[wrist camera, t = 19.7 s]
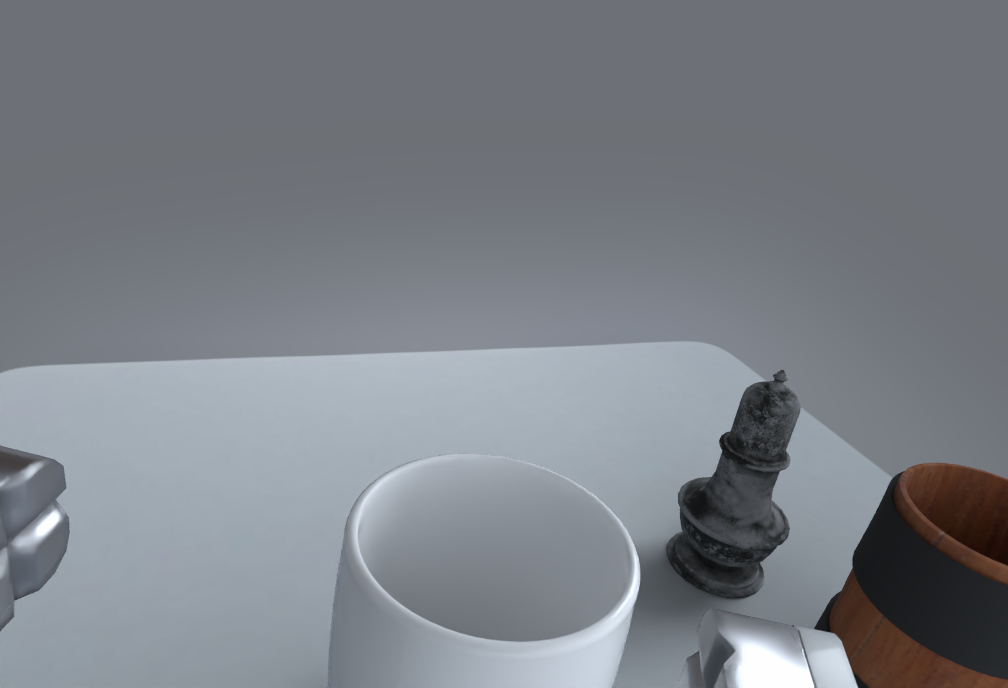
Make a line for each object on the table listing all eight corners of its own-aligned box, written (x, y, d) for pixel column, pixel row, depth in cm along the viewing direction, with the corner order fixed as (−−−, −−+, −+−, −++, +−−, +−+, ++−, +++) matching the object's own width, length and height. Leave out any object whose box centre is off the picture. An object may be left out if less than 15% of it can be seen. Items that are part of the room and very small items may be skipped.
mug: (1097, 786, 34) (1250, 576, 29) (882, 847, 30) (1019, 614, 25) (940, 634, 41) (1042, 445, 36) (750, 666, 37) (836, 457, 32)
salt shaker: (789, 575, 43) (867, 384, 38) (730, 618, 40) (807, 412, 35) (702, 516, 47) (762, 335, 42) (640, 550, 43) (698, 355, 38)
